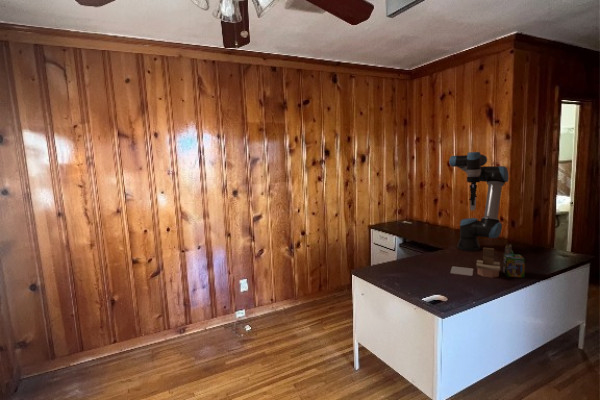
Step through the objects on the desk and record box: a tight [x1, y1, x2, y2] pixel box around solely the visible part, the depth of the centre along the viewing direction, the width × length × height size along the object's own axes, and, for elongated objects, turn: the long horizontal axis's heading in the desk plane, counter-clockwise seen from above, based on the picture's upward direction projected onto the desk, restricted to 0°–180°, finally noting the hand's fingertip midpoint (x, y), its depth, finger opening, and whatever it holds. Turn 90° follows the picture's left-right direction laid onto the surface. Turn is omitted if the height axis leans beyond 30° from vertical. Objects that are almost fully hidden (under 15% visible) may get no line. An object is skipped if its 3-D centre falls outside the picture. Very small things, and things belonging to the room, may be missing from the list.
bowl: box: [476, 268, 500, 278], centre depth 190 cm, size 11×11×5 cm
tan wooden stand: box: [475, 247, 501, 271], centre depth 189 cm, size 12×12×11 cm
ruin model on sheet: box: [504, 243, 513, 254], centre depth 220 cm, size 11×3×10 cm, turn 140°
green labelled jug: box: [502, 249, 526, 279], centre depth 187 cm, size 9×9×15 cm
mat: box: [449, 266, 474, 277], centre depth 198 cm, size 13×12×1 cm
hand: (473, 208), depth 208 cm, fingers open, 13 cm apart
